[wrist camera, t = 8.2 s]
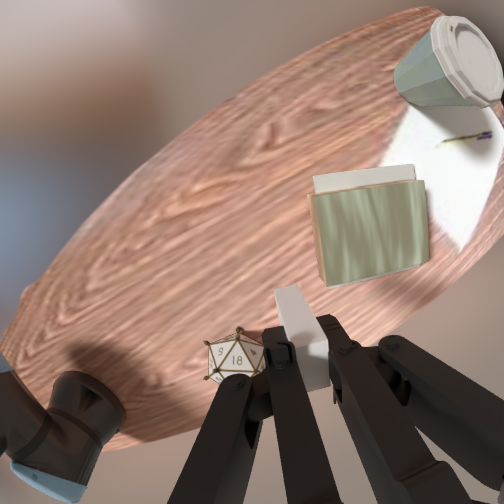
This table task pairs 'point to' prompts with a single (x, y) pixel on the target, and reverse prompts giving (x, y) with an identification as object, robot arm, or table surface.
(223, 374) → the game die
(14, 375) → the robot arm
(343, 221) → the wooden block
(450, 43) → the disposable coffee cup
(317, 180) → the mat
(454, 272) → the table surface
